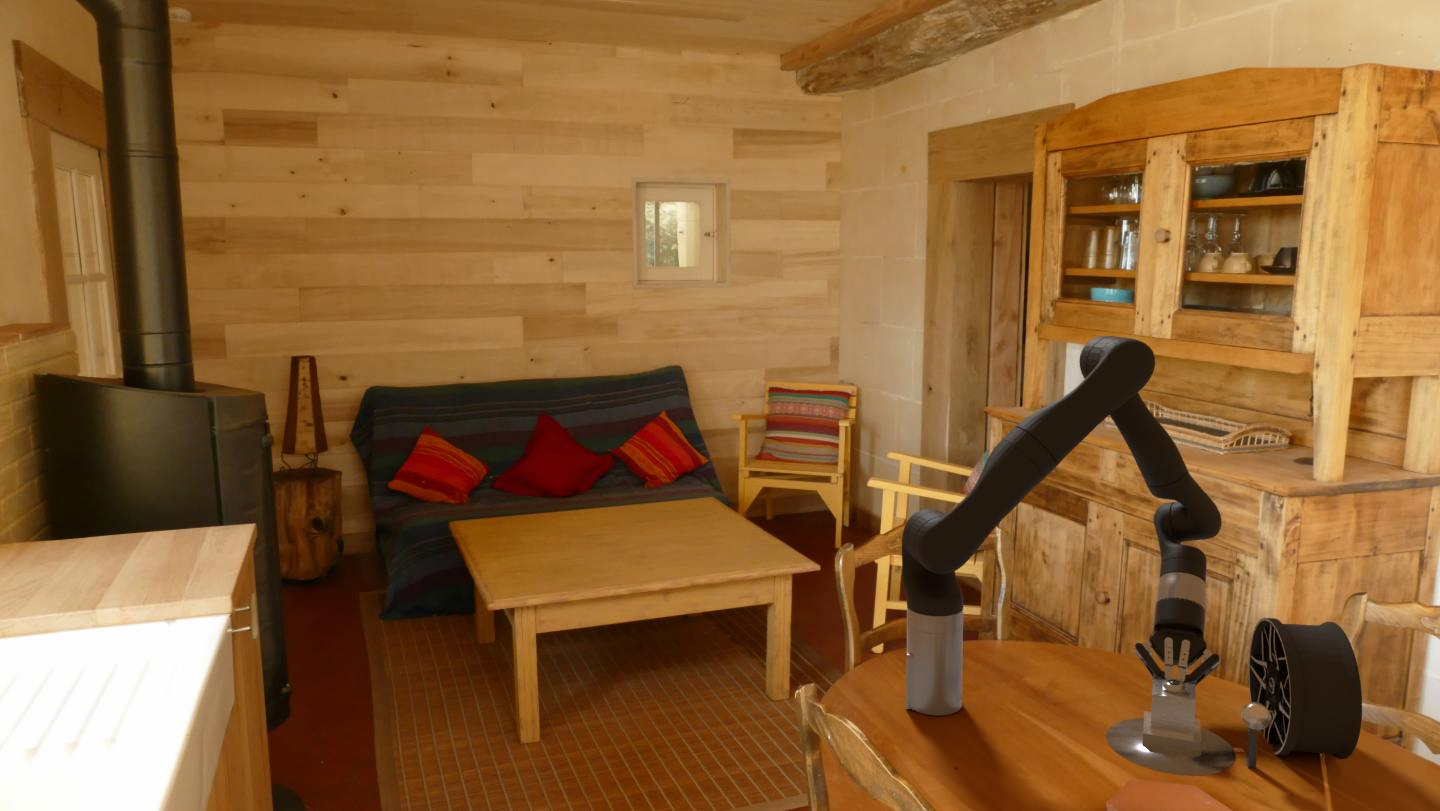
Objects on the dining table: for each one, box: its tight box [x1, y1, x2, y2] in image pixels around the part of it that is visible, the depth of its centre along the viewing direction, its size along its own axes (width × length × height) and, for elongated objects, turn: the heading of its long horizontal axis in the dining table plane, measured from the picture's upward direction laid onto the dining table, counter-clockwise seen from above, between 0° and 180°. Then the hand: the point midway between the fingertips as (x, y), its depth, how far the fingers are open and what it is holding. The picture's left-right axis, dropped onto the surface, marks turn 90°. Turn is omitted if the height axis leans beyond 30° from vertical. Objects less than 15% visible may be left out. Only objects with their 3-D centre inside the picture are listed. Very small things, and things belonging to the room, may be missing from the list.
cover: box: [1142, 678, 1202, 755], centre depth 156 cm, size 8×8×9 cm
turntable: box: [1105, 717, 1246, 776], centre depth 154 cm, size 19×18×1 cm
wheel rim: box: [1248, 617, 1363, 760], centre depth 153 cm, size 20×9×20 cm, turn 168°
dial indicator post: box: [1241, 701, 1272, 770], centre depth 147 cm, size 4×3×11 cm
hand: (1172, 706), depth 159 cm, fingers closed
